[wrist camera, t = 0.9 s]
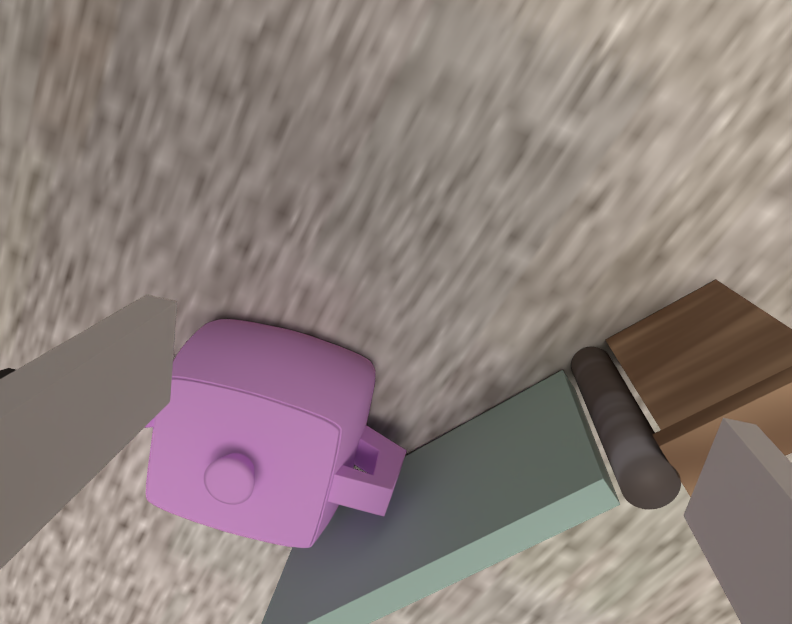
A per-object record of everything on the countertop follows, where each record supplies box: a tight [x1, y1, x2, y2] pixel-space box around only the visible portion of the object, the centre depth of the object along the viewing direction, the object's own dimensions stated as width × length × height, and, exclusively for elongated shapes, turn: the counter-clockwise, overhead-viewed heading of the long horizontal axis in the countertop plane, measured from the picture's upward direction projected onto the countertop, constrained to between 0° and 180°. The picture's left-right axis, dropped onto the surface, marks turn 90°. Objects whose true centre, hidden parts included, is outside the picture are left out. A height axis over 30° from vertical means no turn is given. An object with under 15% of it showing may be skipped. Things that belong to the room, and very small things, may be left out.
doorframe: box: [571, 280, 792, 509], centre depth 31 cm, size 3×10×13 cm, turn 124°
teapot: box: [144, 319, 407, 548], centre depth 36 cm, size 18×10×10 cm, turn 75°
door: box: [262, 370, 620, 624], centre depth 35 cm, size 20×3×12 cm, turn 124°
